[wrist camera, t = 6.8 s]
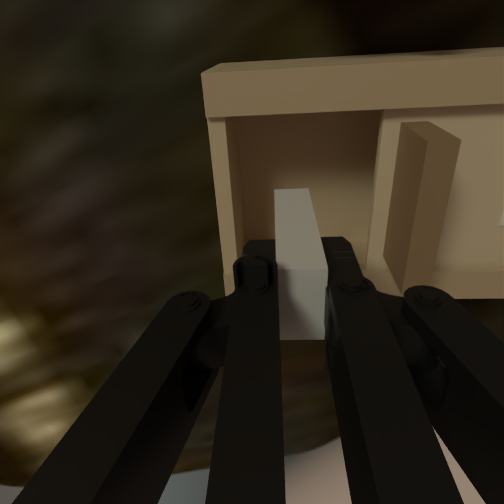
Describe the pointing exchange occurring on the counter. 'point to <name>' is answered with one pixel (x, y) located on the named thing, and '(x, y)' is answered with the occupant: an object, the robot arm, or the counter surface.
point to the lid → (437, 192)
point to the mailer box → (330, 142)
